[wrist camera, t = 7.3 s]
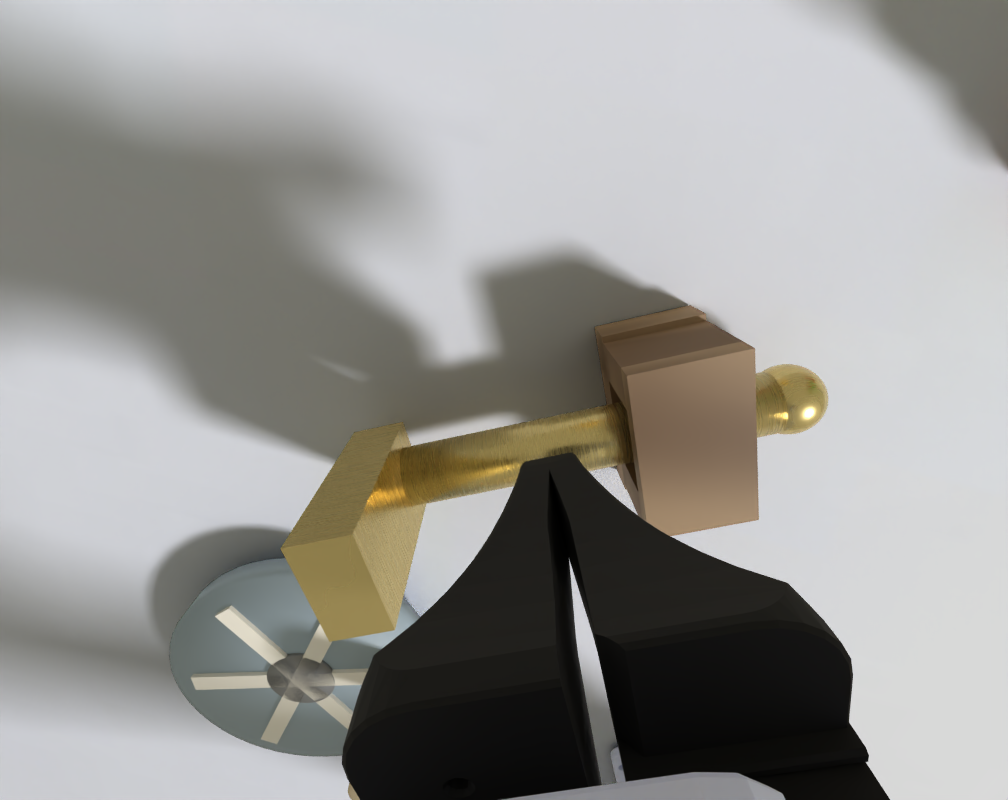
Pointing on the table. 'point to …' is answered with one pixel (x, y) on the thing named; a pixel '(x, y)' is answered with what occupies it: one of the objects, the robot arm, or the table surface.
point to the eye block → (684, 418)
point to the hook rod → (461, 492)
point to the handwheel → (272, 662)
